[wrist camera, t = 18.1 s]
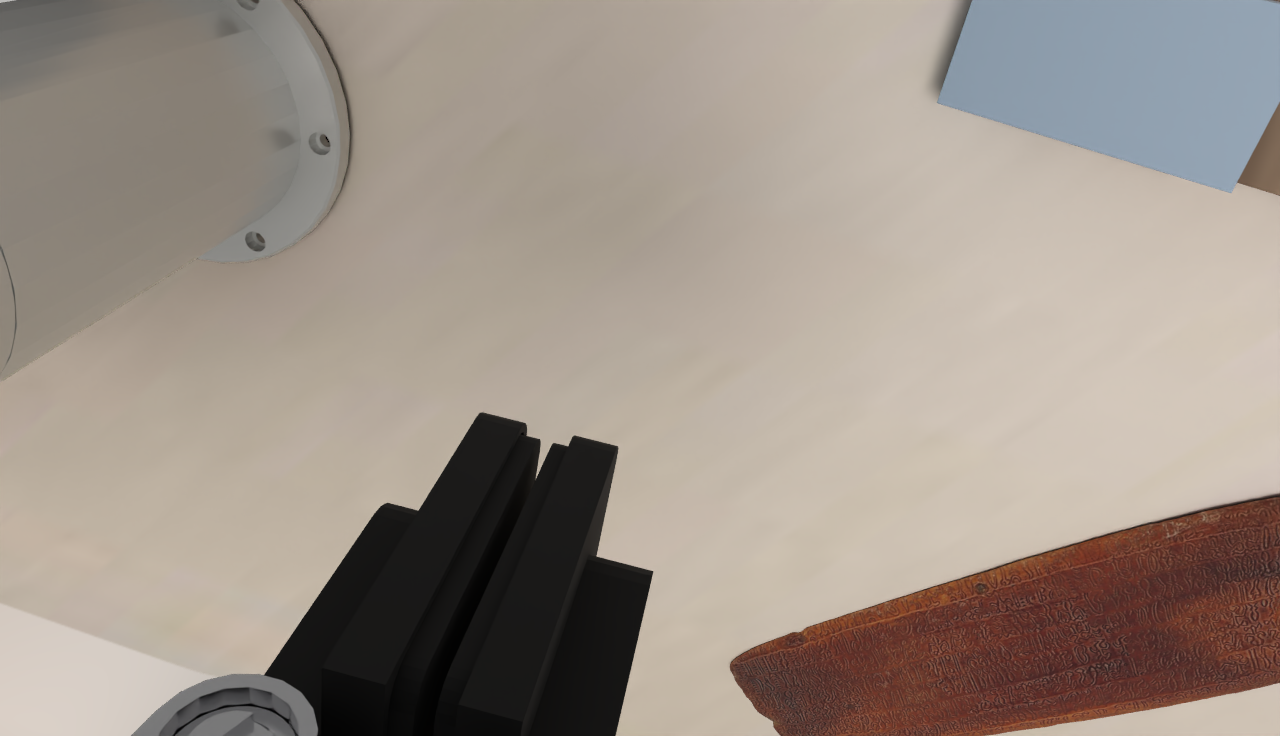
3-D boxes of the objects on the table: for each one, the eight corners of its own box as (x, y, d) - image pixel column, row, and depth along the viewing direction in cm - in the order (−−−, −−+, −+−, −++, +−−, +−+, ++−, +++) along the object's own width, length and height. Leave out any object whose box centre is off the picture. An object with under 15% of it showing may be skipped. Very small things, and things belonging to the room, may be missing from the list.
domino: (936, 102, 30) (1231, 193, 27) (993, -61, 28) (1326, 14, 24) (952, 97, 32) (1233, 181, 28) (1006, -60, 29) (1323, 11, 26)
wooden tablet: (1305, 467, 37) (1326, 492, 35) (1355, 644, 40) (1376, 673, 39) (710, 632, 46) (707, 657, 45) (792, 764, 50) (791, 790, 48)
